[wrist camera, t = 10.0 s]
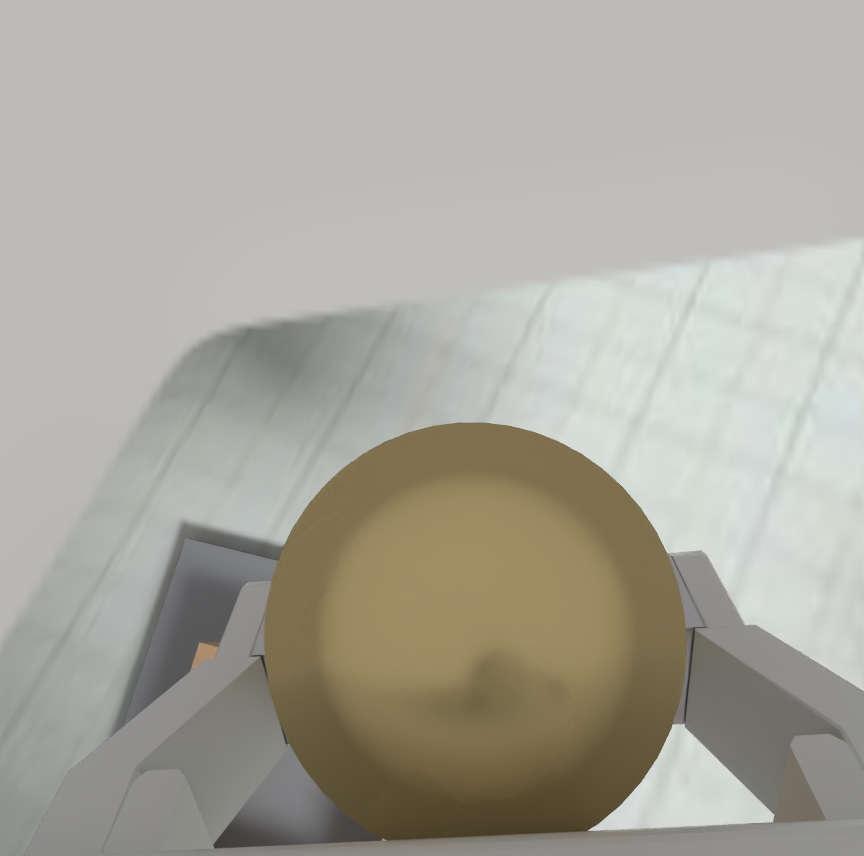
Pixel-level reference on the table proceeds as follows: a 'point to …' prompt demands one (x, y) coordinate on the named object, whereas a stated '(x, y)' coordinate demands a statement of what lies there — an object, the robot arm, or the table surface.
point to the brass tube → (474, 637)
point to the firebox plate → (199, 640)
